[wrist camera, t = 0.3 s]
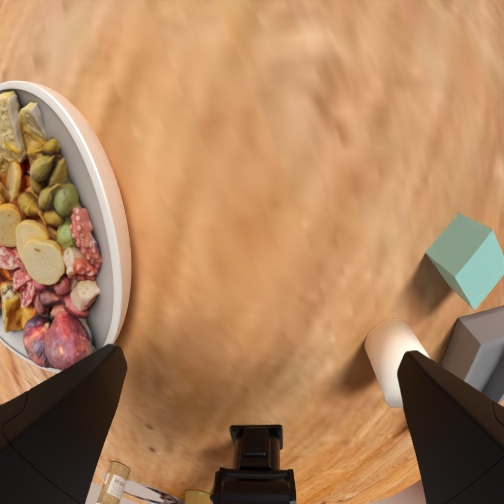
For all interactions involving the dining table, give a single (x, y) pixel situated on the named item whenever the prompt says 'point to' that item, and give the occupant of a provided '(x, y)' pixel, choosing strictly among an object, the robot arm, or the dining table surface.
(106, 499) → the spice jar
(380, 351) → the white cylinder
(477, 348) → the tote
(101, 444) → the robot arm
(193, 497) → the vase
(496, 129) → the dining table surface
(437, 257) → the teal cube
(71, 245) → the bowl
